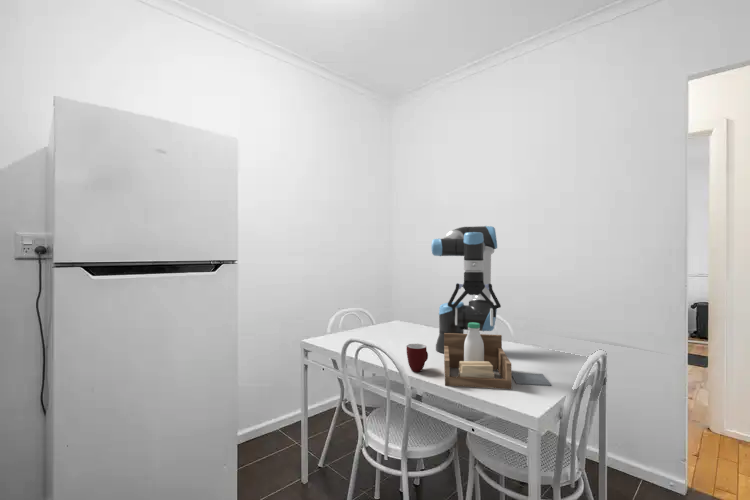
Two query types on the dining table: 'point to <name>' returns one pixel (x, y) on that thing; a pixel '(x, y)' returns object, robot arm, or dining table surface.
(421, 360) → the mug
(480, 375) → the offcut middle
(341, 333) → the dining table surface
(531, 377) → the mat
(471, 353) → the milk bottle
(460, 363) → the offcut top
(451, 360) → the rack
